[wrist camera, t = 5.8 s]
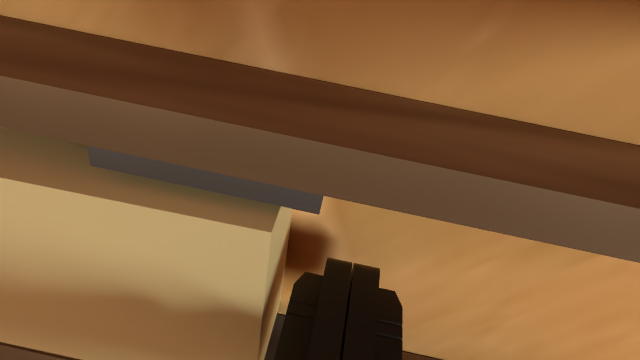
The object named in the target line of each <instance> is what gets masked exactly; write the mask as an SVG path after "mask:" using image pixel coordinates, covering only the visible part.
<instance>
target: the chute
mask: <svg viewBox="0 0 640 360" xmlns="http://www.w3.org/2000/svg"><path fill="white" fill-rule="evenodd" d="M0 127H3V128H7V129H12V130H17V131H21V132H26V133H31V134H35V135H40V136H45V137H50V138H54V139H59V140H64V141H68V142H73V143H78V144H83V145H87V148H88V155H89V161H90V166H94V167H99V168H104V169H108V170H113V171H118V172H122V173H127V174H132V175H137V176H141V177H146V178H151V179H155V180H160V181H165V182H169V183H174V184H179V185H183V186H188V187H193V188H197V189H202V190H207V191H211V192H216V193H221V194H225V195H230V196H235V197H239V198H244V199H249V200H254V201H258V202H263V203H268V204H272V205H277V206H282V207H286V208H291V209H296V210H300V211H305V212H310V213H314V214H319V213H320V209H321V204H322V200H323V196H328V197H332V198H337V199H342V200H346V201H351V202H356V203H361V204H365V205H370V206H375V207H379V208H384V209H389V210H394V211H398V212H403V213H408V214H412V215H417V216H422V217H427V218H431V219H436V220H441V221H445V222H450V223H455V224H460V225H464V226H469V227H474V228H478V229H483V230H488V231H493V232H497V233H502V234H507V235H511V236H516V237H521V238H526V239H530V240H535V241H540V242H544V243H549V244H554V245H559V246H563V247H568V248H573V249H577V250H582V251H587V252H592V253H596V254H601V255H606V256H610V257H615V258H620V259H624V260H629V261H634V262H639V263H640V146H638V145H633V144H628V143H624V142H619V141H614V140H609V139H604V138H599V137H594V136H589V135H584V134H579V133H574V132H569V131H565V130H560V129H555V128H550V127H545V126H540V125H535V124H530V123H525V122H520V121H515V120H511V119H506V118H501V117H496V116H491V115H486V114H481V113H476V112H471V111H466V110H461V109H457V108H452V107H447V106H442V105H437V104H432V103H427V102H422V101H417V100H412V99H407V98H403V97H398V96H393V95H388V94H383V93H378V92H373V91H368V90H363V89H358V88H353V87H349V86H344V85H339V84H334V83H329V82H324V81H319V80H314V79H309V78H304V77H299V76H295V75H290V74H285V73H280V72H275V71H270V70H265V69H260V68H255V67H250V66H245V65H240V64H236V63H231V62H226V61H221V60H216V59H211V58H206V57H201V56H196V55H191V54H186V53H182V52H177V51H172V50H167V49H162V48H157V47H152V46H147V45H142V44H137V43H132V42H128V41H123V40H118V39H113V38H108V37H103V36H98V35H93V34H88V33H83V32H78V31H74V30H69V29H64V28H59V27H54V26H49V25H44V24H39V23H34V22H29V21H24V20H20V19H15V18H10V17H5V16H0ZM284 319H285V316H284V315H279V314H277V315H276V319H275V322H274V326H273V329H272V333H271V337H270V340H269V344H268V347H267V351H266V354H265V358H264V360H274V356H275V353H276V349H277V345H278V341H279V338H280V334H281V330H282V327H283V323H284ZM0 360H81V359H76V358H72V357H67V356H63V355H58V354H53V353H49V352H44V351H40V350H35V349H30V348H26V347H21V346H17V345H12V344H8V343H3V342H0ZM402 360H438V359H434V358H429V357H425V356H420V355H416V354H411V353H407V352H402Z"/></svg>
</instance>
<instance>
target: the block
mask: <svg viewBox="0 0 640 360" xmlns="http://www.w3.org/2000/svg"><path fill="white" fill-rule="evenodd" d="M292 212H293V209H291V208H286V207H282V206H277V205H272V204H268V203H263V202H258V201H254V200H249V199H244V198H239V197H235V196H230V195H225V194H221V193H216V192H211V191H207V190H202V189H197V188H193V187H188V186H183V185H179V184H174V183H169V182H165V181H160V180H155V179H151V178H146V177H141V176H137V175H132V174H127V173H122V172H118V171H113V170H108V169H104V168H99V167H94V166H90V161H89V155H88V148H87V145H83V144H78V143H73V142H68V141H64V140H59V139H54V138H50V137H45V136H40V135H35V134H31V133H26V132H21V131H17V130H12V129H7V128H3V127H0V342H3V343H8V344H12V345H17V346H21V347H26V348H30V349H35V350H40V351H44V352H49V353H53V354H58V355H63V356H67V357H72V358H76V359H81V360H264V358H265V354H266V351H267V347H268V344H269V340H270V337H271V333H272V329H273V326H274V322H275V319H276V315H277V312H278V308H279V305H280V300H281V293H282V285H283V278H284V271H285V263H286V256H287V249H288V241H289V234H290V227H291V219H292Z"/></svg>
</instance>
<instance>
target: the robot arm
mask: <svg viewBox="0 0 640 360" xmlns="http://www.w3.org/2000/svg"><path fill="white" fill-rule="evenodd" d="M351 271H352V272H351ZM379 277H380V269H379V268H375V267H370V266H365V265H361V264H356V263H354V265H353V268H352V263H351V262H346V261H342V260H337V259H332V258H328V257H327V261H326V266H325V271H324V276H321V275H317V274H312V273H307V272H305V273H304V274H303V275H302V276H301V277H300V278H299V279H298V280H297V281H296V282H295V284H294V286H293V290H292V293H291V297H290V301H289V305H288V308H287V312H286V316H285V319H284V323H283V327H282V330H281V334H280V338H279V341H278V345H277V349H276V353H275V356H274V360H402V305H401V303H400V301H399V299H398V297H397V295H396V292H395V291H391V290H387V289H382V288H379Z"/></svg>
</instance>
